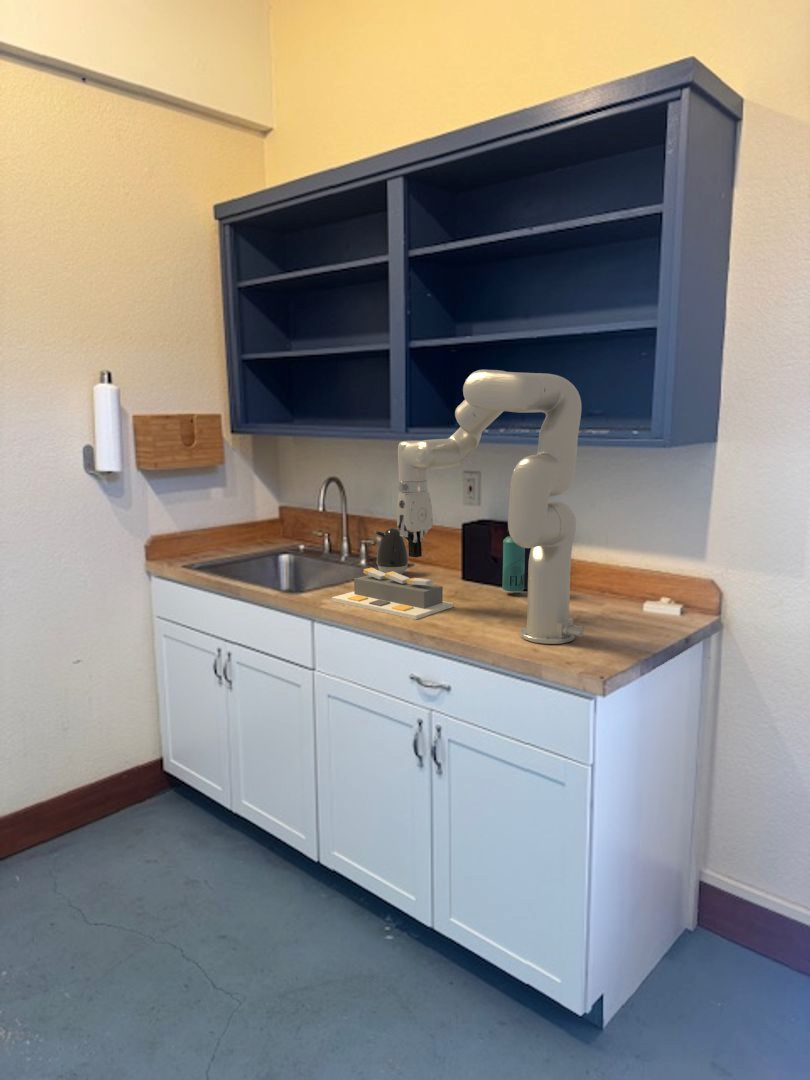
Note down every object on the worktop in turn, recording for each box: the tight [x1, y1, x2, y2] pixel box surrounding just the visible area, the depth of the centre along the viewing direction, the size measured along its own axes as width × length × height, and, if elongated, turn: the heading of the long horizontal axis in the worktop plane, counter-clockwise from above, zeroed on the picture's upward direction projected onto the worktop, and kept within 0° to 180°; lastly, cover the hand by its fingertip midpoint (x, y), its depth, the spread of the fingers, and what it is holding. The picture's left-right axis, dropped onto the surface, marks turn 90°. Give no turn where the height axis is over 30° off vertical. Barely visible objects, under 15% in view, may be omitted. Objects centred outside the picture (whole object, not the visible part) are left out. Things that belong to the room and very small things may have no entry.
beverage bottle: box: [501, 526, 527, 593], centre depth 215 cm, size 6×7×20 cm
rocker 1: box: [362, 567, 386, 580], centre depth 212 cm, size 6×3×1 cm, turn 50°
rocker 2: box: [407, 577, 434, 585], centre depth 202 cm, size 6×3×1 cm, turn 50°
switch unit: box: [331, 574, 454, 620], centre depth 206 cm, size 30×16×6 cm, turn 50°
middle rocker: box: [385, 571, 411, 584], centre depth 207 cm, size 6×3×1 cm, turn 50°
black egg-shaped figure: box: [375, 527, 409, 575], centre depth 241 cm, size 10×10×15 cm
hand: (415, 556), depth 202 cm, fingers closed
